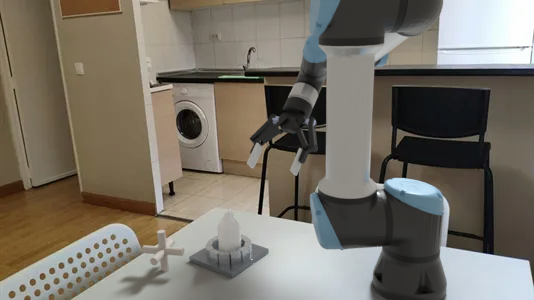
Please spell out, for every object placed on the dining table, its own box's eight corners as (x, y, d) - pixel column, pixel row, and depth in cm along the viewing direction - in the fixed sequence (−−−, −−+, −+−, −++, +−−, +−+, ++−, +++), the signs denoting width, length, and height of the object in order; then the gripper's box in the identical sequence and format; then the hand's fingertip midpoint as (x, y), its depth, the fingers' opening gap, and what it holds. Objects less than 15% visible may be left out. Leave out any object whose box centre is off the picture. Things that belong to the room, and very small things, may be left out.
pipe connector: (176, 282, 99) (172, 242, 96) (136, 279, 101) (130, 240, 98) (192, 260, 108) (189, 223, 106) (155, 257, 110) (150, 221, 108)
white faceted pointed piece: (220, 202, 109) (241, 203, 108) (223, 246, 112) (244, 247, 111) (212, 212, 103) (235, 213, 102) (216, 258, 107) (238, 259, 105)
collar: (268, 253, 111) (268, 239, 110) (232, 278, 100) (231, 263, 99) (227, 239, 119) (226, 226, 118) (189, 261, 108) (188, 247, 107)
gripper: (345, 114, 116) (318, 183, 108) (269, 109, 131) (240, 170, 122) (336, 96, 111) (307, 168, 103) (257, 93, 125) (226, 156, 117)
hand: (270, 169), depth 112 cm, fingers open, 13 cm apart
